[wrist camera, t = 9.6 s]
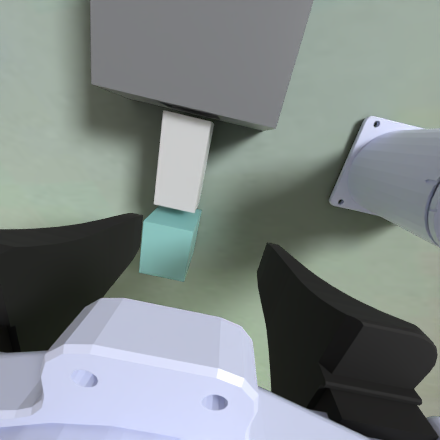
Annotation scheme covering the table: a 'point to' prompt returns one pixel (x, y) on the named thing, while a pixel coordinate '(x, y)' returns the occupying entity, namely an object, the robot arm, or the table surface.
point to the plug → (176, 197)
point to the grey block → (200, 54)
